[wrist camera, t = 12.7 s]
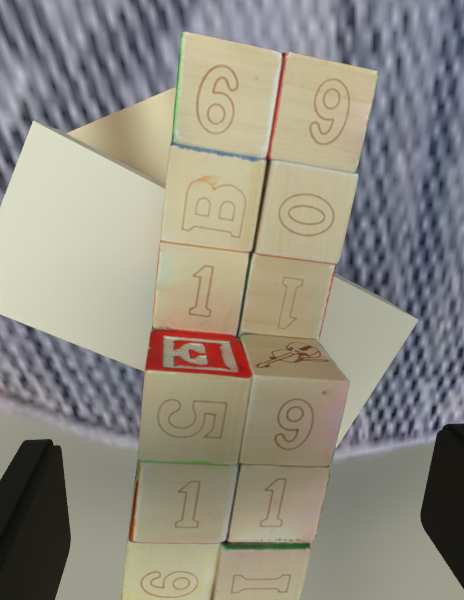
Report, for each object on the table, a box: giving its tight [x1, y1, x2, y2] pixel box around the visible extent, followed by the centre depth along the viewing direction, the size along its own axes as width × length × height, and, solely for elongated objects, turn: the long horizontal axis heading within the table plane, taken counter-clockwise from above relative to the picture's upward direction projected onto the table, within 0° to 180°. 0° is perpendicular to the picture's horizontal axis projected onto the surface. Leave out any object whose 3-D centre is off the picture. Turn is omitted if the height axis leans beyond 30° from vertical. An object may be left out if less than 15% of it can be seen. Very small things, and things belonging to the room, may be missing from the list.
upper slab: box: [0, 121, 418, 448], centre depth 26 cm, size 10×24×5 cm, turn 63°
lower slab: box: [66, 87, 176, 185], centre depth 31 cm, size 10×24×5 cm, turn 22°
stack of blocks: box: [121, 32, 379, 600], centre depth 18 cm, size 21×6×12 cm, turn 171°
